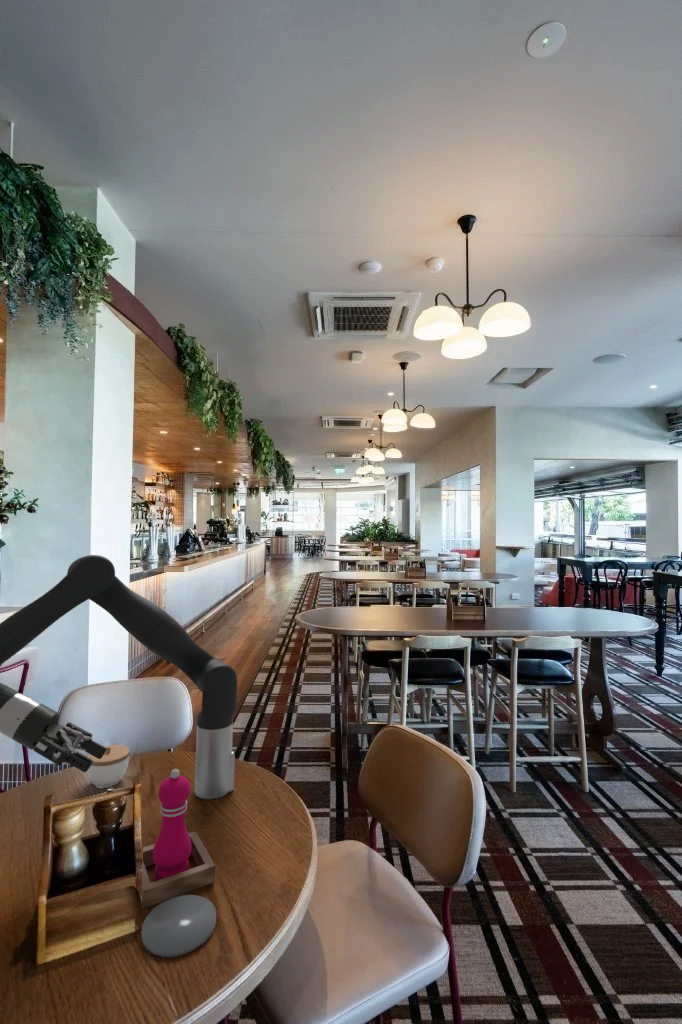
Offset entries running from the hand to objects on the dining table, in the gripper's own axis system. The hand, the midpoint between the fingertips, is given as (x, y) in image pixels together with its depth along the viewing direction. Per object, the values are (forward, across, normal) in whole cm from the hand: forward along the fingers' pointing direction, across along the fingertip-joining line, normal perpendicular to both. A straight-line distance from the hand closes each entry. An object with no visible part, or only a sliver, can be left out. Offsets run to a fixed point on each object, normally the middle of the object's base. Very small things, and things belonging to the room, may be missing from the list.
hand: (97, 760), depth 97 cm
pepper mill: (+24, -1, +11) cm, 27 cm away
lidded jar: (+1, +38, +18) cm, 42 cm away
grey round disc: (+29, -14, +10) cm, 34 cm away
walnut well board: (+24, -1, +10) cm, 27 cm away
